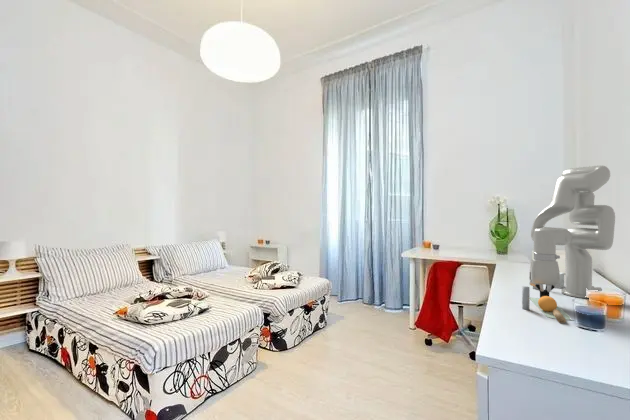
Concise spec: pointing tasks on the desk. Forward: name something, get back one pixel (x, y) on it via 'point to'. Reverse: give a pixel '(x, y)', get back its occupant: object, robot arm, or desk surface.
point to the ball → (547, 303)
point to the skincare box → (561, 280)
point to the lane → (550, 314)
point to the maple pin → (559, 316)
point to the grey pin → (525, 298)
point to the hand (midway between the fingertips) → (544, 300)
